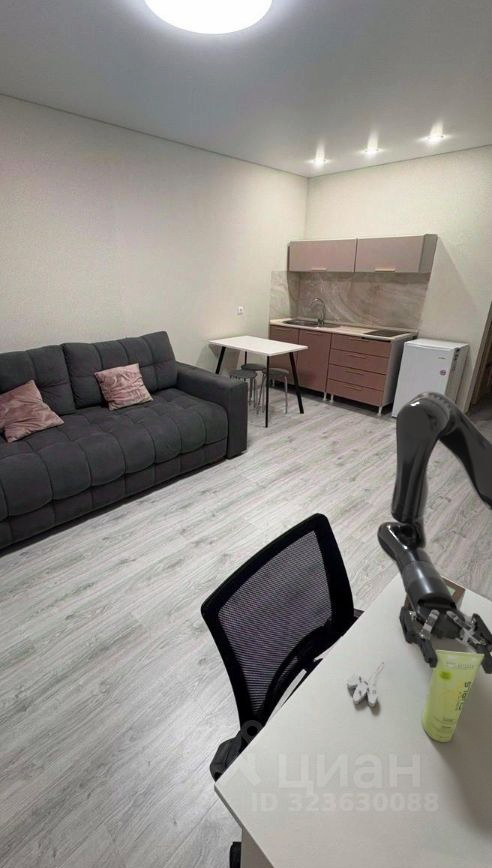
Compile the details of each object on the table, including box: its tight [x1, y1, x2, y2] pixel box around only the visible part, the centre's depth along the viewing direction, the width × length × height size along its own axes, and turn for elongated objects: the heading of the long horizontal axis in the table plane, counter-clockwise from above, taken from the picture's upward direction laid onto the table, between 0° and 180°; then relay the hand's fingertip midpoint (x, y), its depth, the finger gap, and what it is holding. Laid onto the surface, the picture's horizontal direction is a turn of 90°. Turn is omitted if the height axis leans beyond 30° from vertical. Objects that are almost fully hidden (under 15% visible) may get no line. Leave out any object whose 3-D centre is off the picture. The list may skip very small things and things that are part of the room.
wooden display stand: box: [403, 576, 466, 640], centre depth 95 cm, size 12×9×9 cm
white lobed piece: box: [346, 661, 384, 707], centre depth 81 cm, size 6×12×3 cm, turn 151°
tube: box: [421, 649, 484, 743], centre depth 69 cm, size 6×5×20 cm
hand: (462, 667), depth 65 cm, fingers open, 8 cm apart
